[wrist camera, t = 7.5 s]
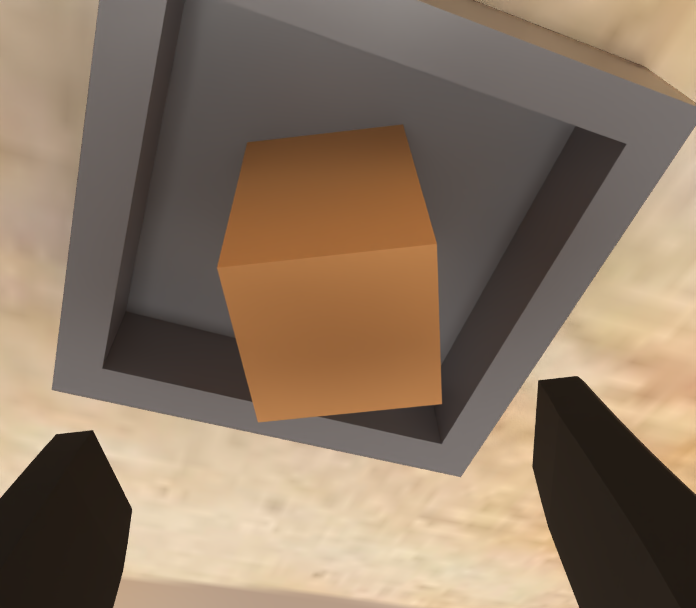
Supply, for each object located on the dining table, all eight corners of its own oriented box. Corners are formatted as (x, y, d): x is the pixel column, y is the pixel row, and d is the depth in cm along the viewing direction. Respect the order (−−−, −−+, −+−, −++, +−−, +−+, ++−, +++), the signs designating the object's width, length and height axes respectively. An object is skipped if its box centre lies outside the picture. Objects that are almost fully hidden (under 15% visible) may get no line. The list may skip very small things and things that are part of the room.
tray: (445, 405, 23) (460, 476, 21) (85, 320, 21) (51, 390, 18) (645, 67, 17) (706, 110, 14) (152, -125, 14) (113, -117, 11)
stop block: (402, 124, 17) (436, 243, 12) (410, 258, 19) (441, 403, 14) (247, 142, 17) (217, 267, 12) (273, 272, 19) (257, 422, 14)
